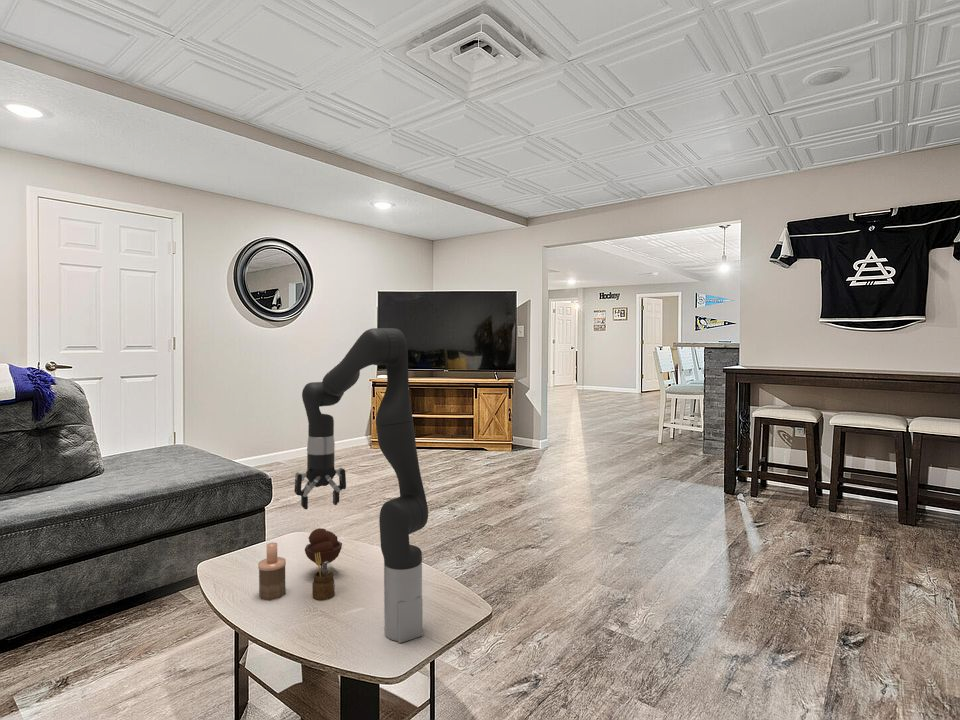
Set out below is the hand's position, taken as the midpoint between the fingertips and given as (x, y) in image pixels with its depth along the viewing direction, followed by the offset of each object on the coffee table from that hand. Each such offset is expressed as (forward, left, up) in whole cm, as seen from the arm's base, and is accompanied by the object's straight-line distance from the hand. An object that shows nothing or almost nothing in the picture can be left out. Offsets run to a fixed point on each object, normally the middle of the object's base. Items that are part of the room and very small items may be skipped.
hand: (320, 506), depth 155 cm
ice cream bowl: (+7, -3, -24) cm, 25 cm away
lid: (+1, +13, -15) cm, 20 cm away
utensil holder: (-7, +1, -24) cm, 25 cm away
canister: (+1, +13, -24) cm, 27 cm away
